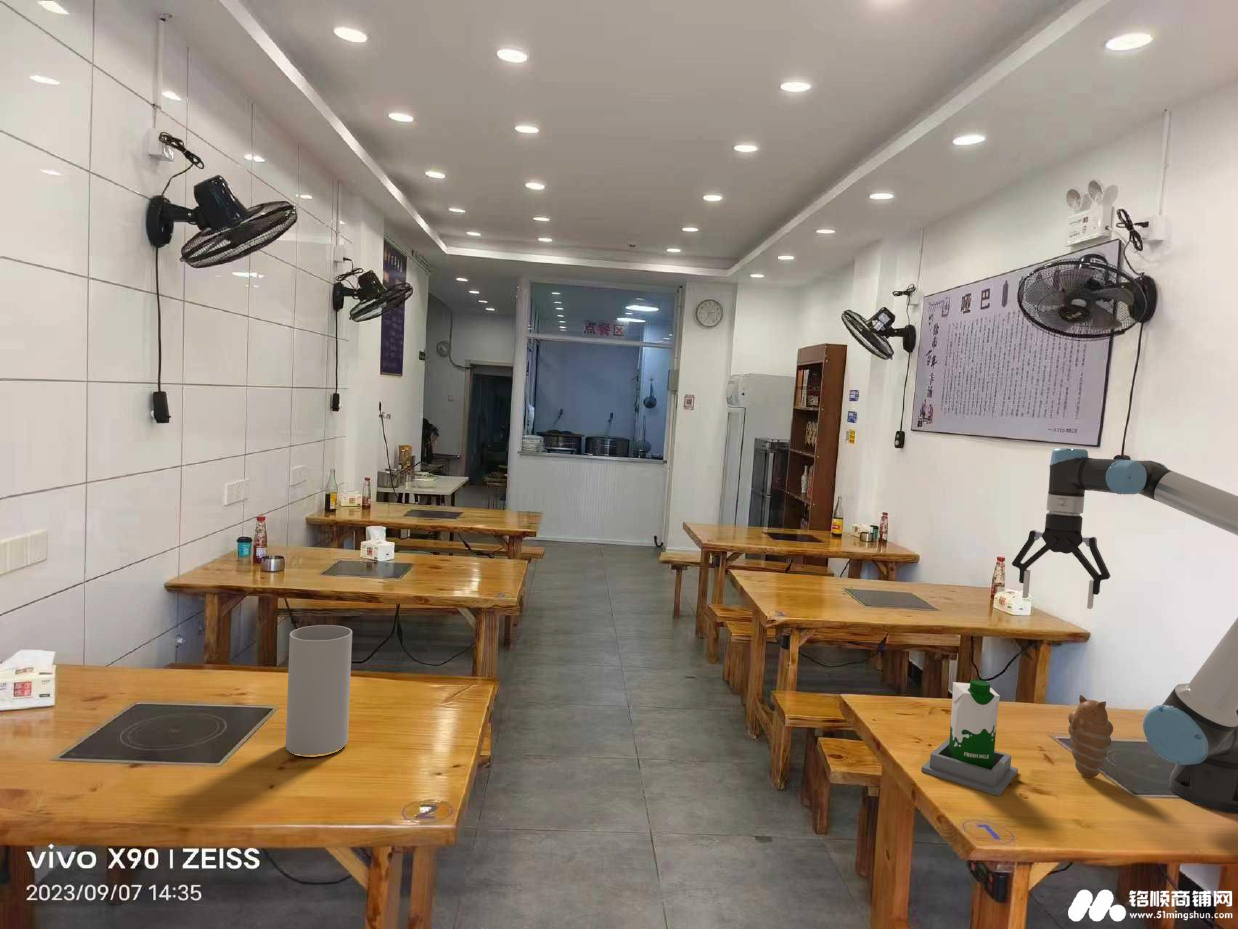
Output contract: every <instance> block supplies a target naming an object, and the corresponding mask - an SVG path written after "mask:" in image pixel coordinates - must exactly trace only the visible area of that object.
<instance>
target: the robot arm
mask: <svg viewBox="0 0 1238 929" xmlns="http://www.w3.org/2000/svg"><path fill="white" fill-rule="evenodd" d="M1047 491H1048V492H1047V499H1046V511H1048V512H1047V513H1046V514H1045V522H1044V531H1043V532H1041V531H1037V530H1036V529H1032V530H1030V531H1029V534H1028V537H1027V538H1028V539H1027V540H1026V542H1025V543H1024V545H1023V546H1022V548H1021V549H1020V550H1019V552H1018V554H1016V556H1015V558H1014V559H1013V561H1012V562H1011V566H1013V567H1015V568H1017V569H1018V570H1019V577H1018V581H1019V584H1023V585H1022V586H1023V587H1022V599H1027V598H1028V597H1029V593H1030V581H1031V570H1030V569H1028V568H1029V567H1030V566H1032V565H1033V564H1034V563H1035V562H1036V561H1038V560H1039V559H1040V558H1041V557H1042V556H1043V555H1045V554H1046V553H1047V552H1048V551H1051V552H1053V553H1063V554H1066V555H1069V554H1071V553H1072V555H1073V556H1074V557H1075V558H1076V559H1077V560H1078V562H1079V563H1080V564H1081V565H1082V567H1083V568H1084V569H1085V571H1086V572H1087V573H1088V574H1089V575H1090V577H1091V579H1089V581H1088V582H1089V583H1088V594H1087V603H1086V605H1087V606H1086V609H1088V610H1089V609H1090V610H1091V609H1093V608H1094V600H1095V599H1094V598H1095V597H1094V595H1095V596H1096V595H1097V596H1098V595H1099V594H1100V589H1101V581H1103V580H1104V581H1105V580H1108V579H1109V578H1111V574H1110V572H1109V570H1108V566H1107V565H1106V563H1105V561H1104V559H1103V556H1102V554H1101V552H1100V550H1099V548H1098V538H1097V537H1095V536H1091V537H1084V536H1082V535H1083V534H1082V530H1083V529H1082V528H1083V517H1082V515H1081V514H1083V513H1084V506H1085V492H1086V491H1091V492H1092V491H1094V492H1099V493H1100V492H1101V493H1109V494H1110V493H1111V494H1117V495H1138V494H1139V495H1141V496H1144V497H1145V498H1148V499H1150V500H1153V501H1155V502H1158V503H1161V504H1163V505H1166V506H1167V507H1168V506H1169V507H1170V508H1173V509H1175V510H1178V511H1179V512H1182V513H1184V514H1185V515H1186V514H1187V515H1189V516H1191V517H1193V518H1195V519H1198V520H1201V521H1202V522H1205V523H1208V524H1210V525H1211V526H1212V525H1213V526H1215V527H1218V529H1221V530H1224V531H1226V532H1228V533H1231V534H1233V535H1235V536H1238V495H1236V494H1234V493H1231V492H1228V491H1225V490H1223V489H1220V488H1217V487H1215V486H1212V485H1210V484H1207V483H1205V482H1203V481H1199V480H1198V479H1195V478H1193V477H1189V476H1187V475H1184V474H1181V473H1178V472H1176V471H1174V470H1171V469H1169V468H1168V467H1167V466H1166V465H1165V464H1163V463H1161V462H1157V461H1153V460H1146V459H1145V460H1132V459H1117V458H1116V459H1113V458H1092V457H1089V452H1088V450H1087V449H1085V448H1066V447H1056V448H1054V449H1053V450H1052V452H1051V455H1050V464H1049V478H1048V490H1047ZM1040 538H1042V540H1043V541H1044V543H1045V544H1044V545H1042V547H1040V549H1038V551H1036V552H1035V553H1033V554H1032V555H1031V556H1030V557H1029V558H1028V559H1026V561H1024V562H1023V563H1022V561H1023V559H1024V558H1025V557H1026V555H1027V554H1028V552H1029V551H1030V550H1031V548H1032V546H1033V545H1034V544H1035V542H1036V541H1038V540H1040ZM1083 543H1084V544H1085V546H1087V547H1089V550H1090V551H1089V552H1090V553H1091V555H1092V557H1093V559H1094V561H1095V563H1096V566H1097V568H1098V570H1099V572H1100V573H1099V572H1098V571H1097V570H1096V568H1095V567H1094V566H1093V564H1092V563H1091V562H1090V561H1089V560H1088V558H1087V557H1086V556H1085V555H1084V554H1083V551H1082V550H1081V549H1080V548H1079V547H1080V545H1082V544H1083ZM1142 730H1143V733H1144V736H1145V739H1146V742H1147V743H1148V744H1149V746H1150V747H1151V749H1152V750H1153V751H1154V752H1155V753H1156V754H1157V755H1159V756H1160V757H1161V758H1163V759H1164V760H1167V762H1170V763H1173V764H1175V765H1174V768H1173V770H1172V771H1171V773H1170V774H1169V780H1168V787H1169V789H1170V790H1171V791H1172V792H1173V793H1175V794H1176V795H1177V796H1179V797H1180V798H1182V799H1184V800H1186V801H1189V802H1191V803H1193V804H1196V805H1199V806H1200V807H1201V806H1202V807H1205V808H1208V809H1212V810H1215V811H1219V812H1222V813H1223V812H1224V813H1228V814H1229V813H1230V814H1235V815H1236V814H1237V815H1238V617H1237V618H1236V619H1235V620H1234V621H1233V623H1232V625H1231V626H1230V628H1228V630H1227V631H1226V633H1225V634H1224V635H1223V636H1222V638H1221V640H1220V641H1219V642H1218V644H1217V645H1216V646H1215V647H1214V649H1213V651H1212V652H1211V653H1210V654H1209V656H1208V657H1207V658H1206V660H1205V661H1204V663H1203V664H1202V665H1201V666H1200V668H1199V670H1198V671H1197V672H1196V673H1195V674H1194V676H1193V677H1192V679H1191V680H1190V682H1189V683H1188V682H1187V683H1178V684H1176V686H1174V688H1173V690H1172V691H1171V692H1170V694H1169V695H1168V696H1167V697H1166V699H1165V701H1164V702H1163V703H1162V704H1160V705H1155V706H1154V707H1152V708H1151V709H1150V710H1149V711H1147V713H1146V714H1145V716H1144V718H1143V721H1142Z"/></svg>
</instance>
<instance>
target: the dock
mask: <svg viewBox="0 0 1238 929" xmlns="http://www.w3.org/2000/svg"><path fill="white" fill-rule="evenodd" d="M949 740H950V737H948V738H947V739H946V740H945V741H944V742H943V743H941V744H940V745H939V746H938V747H937V748H936V749H934V750H933V751H932V752H931V753H930V757H929V760H928V761H927V762H925V764H924V765H922V766H921V772H922V773H924V774H928V775H931V776H935V777H938V778H941V779H944V780H947V781H949V782H950V781H951V782H953V783H956V784H959V785H963V786H966V787H969V788H972V789H975V790H978V791H982V792H984V793H987V794H991V795H994V796H996V797H1000V796H1001V795H1002V794H1003V792H1004V791H1005V790H1006V788H1007V787H1008V786H1009V785H1010V783H1011V782H1012V781H1013V780H1014V778H1015V777H1016V775H1017V774H1018V773H1019V768H1017V767H1015V766H1012V754H1008V753H1004V752H1000V751H999V750H998V751H997V750H994V760H993V768H992V770H989V769H986V768H982V767H979V766H976V765H972V764H969V763H966V762H962V761H959V760H956V759H953V758H949Z"/></svg>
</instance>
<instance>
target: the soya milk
mask: <svg viewBox="0 0 1238 929" xmlns="http://www.w3.org/2000/svg"><path fill="white" fill-rule="evenodd" d="M969 681H970V682H956V681H952V699H951V700H952V702H951V703H952V704H951V716H950V727H949V728H950V729H949V738H950V740H949V758H953V759H956V760H959V761H962V762H966V763H969V764H972V765H976V766H979V767H982V768H986V769H989V770H992V768H993V760H994V750H995V748H996V737H997V736H996V735H997V723H998V712H999V704H1000V699H1001V695H1000V694H998V693H997V691H995V690H994V689H993V688H992V687H991V683H990V682H988V681H985V680H981V679H971V680H969ZM995 751H996V750H995Z"/></svg>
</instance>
